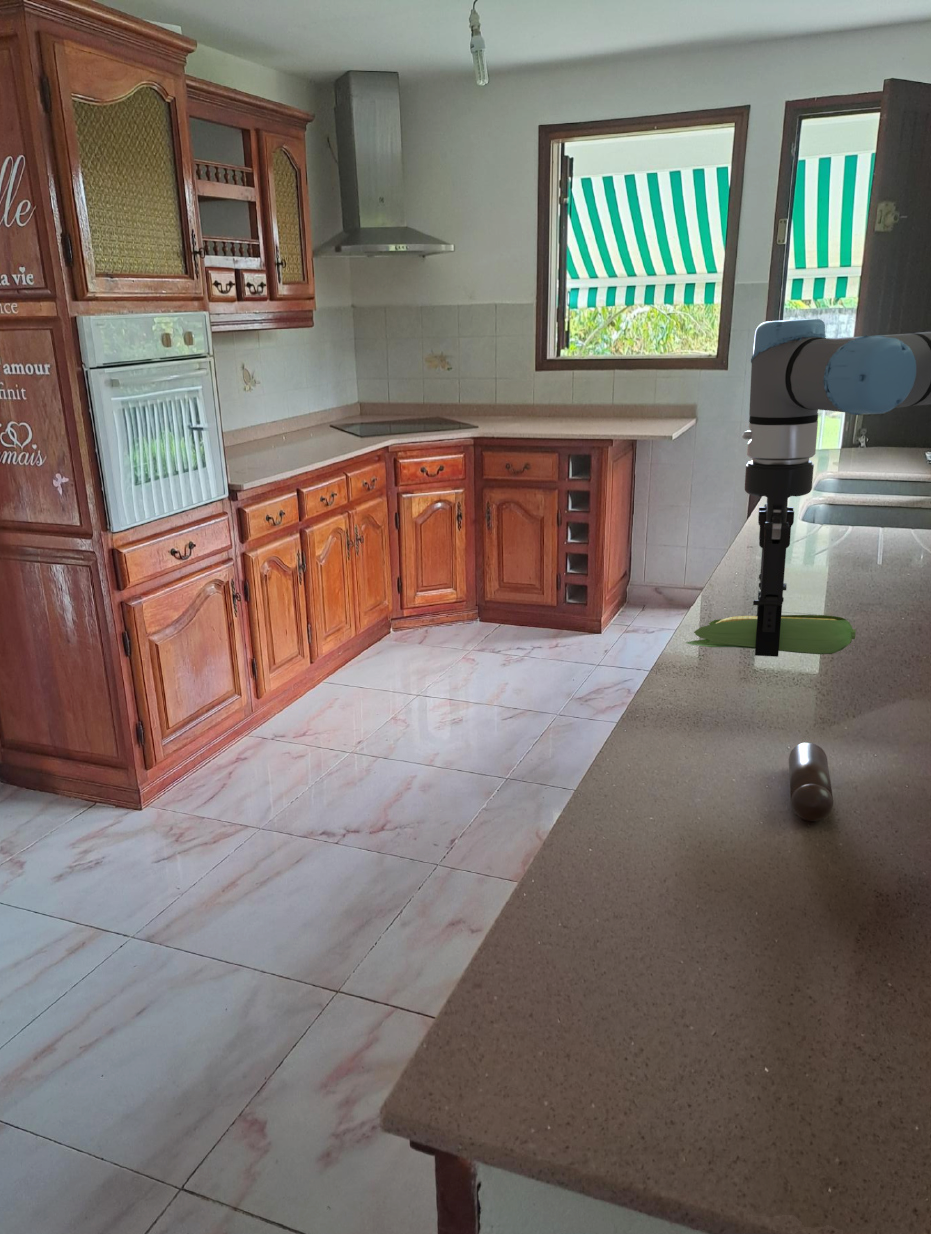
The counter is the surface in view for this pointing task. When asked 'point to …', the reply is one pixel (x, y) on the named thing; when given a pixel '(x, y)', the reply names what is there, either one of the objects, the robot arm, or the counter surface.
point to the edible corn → (781, 633)
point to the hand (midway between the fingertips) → (766, 647)
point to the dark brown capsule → (810, 782)
